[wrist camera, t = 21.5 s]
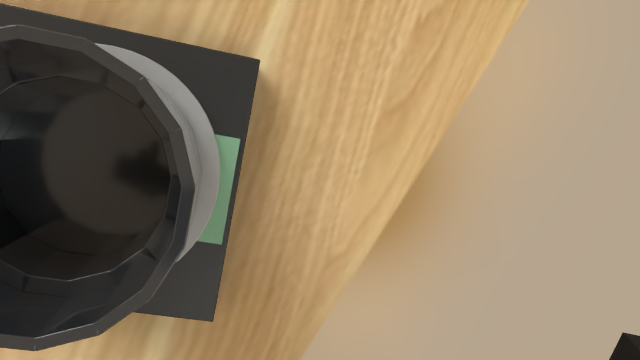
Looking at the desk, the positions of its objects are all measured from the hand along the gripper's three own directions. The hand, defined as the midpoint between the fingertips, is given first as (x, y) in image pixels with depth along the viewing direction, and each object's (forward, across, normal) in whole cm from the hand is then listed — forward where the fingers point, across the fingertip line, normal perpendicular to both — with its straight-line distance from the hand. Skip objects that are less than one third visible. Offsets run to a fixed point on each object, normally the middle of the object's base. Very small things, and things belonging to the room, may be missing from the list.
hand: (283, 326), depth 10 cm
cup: (+18, -10, -5) cm, 21 cm away
